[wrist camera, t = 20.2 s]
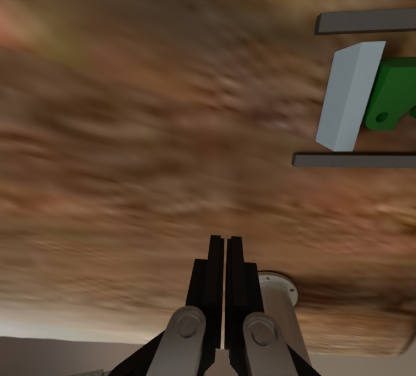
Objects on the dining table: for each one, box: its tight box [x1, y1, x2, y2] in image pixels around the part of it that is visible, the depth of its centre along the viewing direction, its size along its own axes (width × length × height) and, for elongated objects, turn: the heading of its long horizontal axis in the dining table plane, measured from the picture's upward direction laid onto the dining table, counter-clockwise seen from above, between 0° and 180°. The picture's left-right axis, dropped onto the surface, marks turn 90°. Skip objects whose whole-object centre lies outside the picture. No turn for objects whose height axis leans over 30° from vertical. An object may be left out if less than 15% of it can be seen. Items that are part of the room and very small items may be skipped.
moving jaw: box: [316, 41, 386, 151], centre depth 22 cm, size 10×2×5 cm, turn 1°
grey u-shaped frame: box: [292, 8, 416, 168], centre depth 22 cm, size 17×20×5 cm
